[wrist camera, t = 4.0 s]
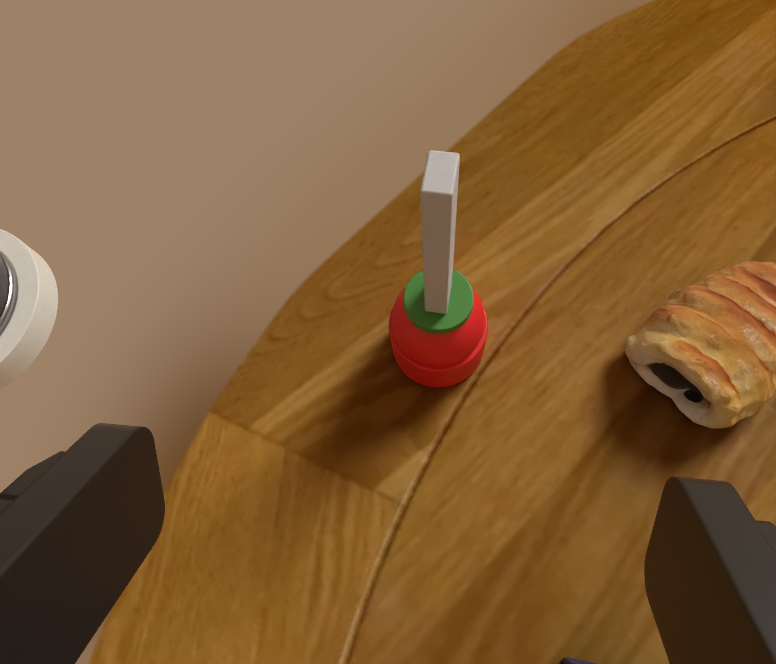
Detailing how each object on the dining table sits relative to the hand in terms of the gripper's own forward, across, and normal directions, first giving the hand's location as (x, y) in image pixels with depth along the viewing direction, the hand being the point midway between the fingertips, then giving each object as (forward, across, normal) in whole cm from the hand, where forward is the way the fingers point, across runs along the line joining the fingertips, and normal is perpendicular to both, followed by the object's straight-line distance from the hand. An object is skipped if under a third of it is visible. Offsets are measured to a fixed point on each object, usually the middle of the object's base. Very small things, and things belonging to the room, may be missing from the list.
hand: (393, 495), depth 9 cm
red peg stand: (+22, 0, +8) cm, 23 cm away
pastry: (+23, -14, +7) cm, 28 cm away
